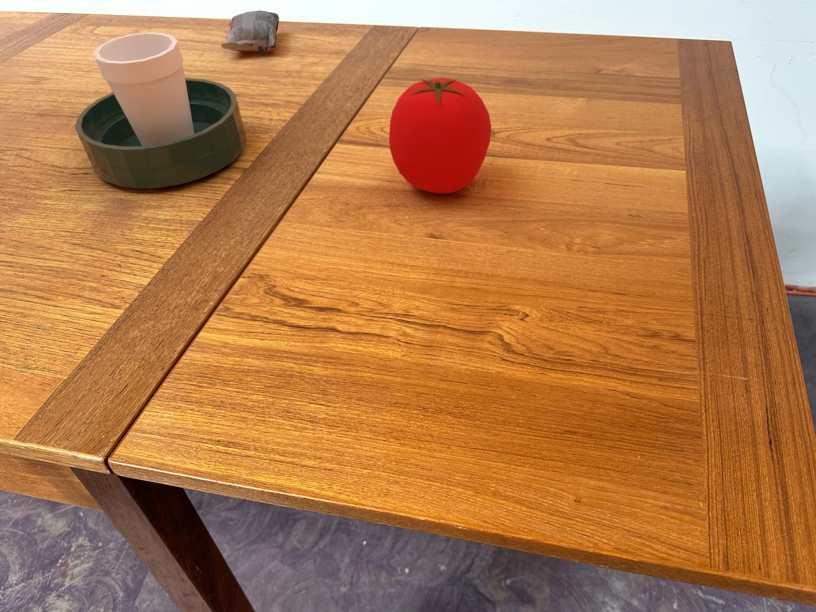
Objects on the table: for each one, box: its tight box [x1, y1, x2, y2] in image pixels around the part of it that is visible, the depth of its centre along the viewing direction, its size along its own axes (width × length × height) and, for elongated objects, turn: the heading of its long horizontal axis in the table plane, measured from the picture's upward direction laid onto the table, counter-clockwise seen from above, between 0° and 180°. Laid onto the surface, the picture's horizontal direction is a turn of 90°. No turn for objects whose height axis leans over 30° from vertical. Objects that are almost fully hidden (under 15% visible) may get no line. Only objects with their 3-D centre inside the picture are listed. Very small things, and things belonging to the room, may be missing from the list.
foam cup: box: [92, 31, 194, 146], centre depth 82 cm, size 10×9×13 cm
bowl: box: [74, 77, 247, 189], centre depth 85 cm, size 19×19×6 cm
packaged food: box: [220, 9, 280, 52], centre depth 112 cm, size 9×12×5 cm
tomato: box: [388, 77, 492, 194], centre depth 76 cm, size 12×12×13 cm
